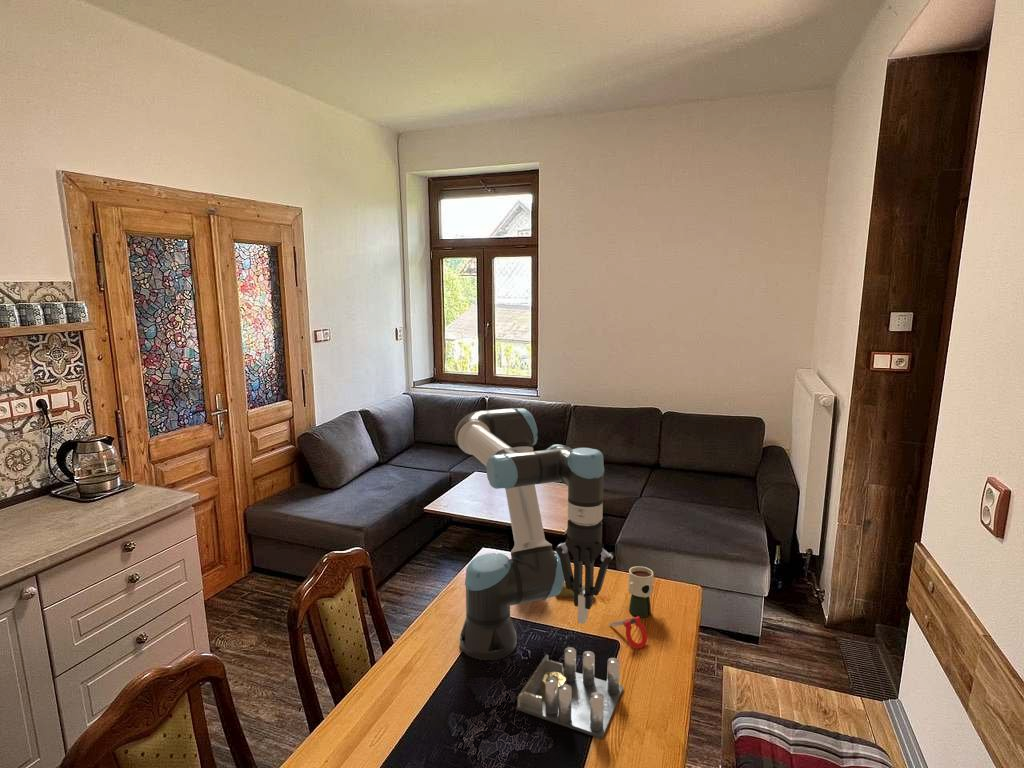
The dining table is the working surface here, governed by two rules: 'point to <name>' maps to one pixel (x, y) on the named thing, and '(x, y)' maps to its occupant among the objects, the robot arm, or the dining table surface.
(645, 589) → the character mug
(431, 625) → the dining table surface
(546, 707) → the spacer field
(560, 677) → the nut
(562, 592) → the medication box
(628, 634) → the tow hook
